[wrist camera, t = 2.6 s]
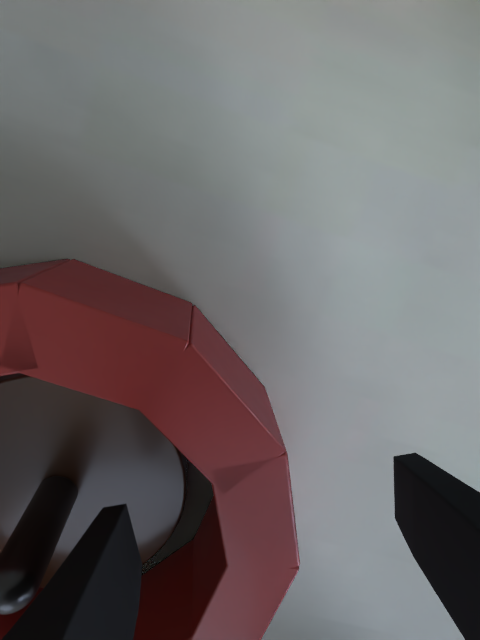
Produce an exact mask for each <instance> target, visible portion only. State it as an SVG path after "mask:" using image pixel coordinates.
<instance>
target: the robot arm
mask: <svg viewBox="0 0 480 640" xmlns="http://www.w3.org/2000/svg"><path fill="white" fill-rule="evenodd" d="M394 495H395V519H396V521H397V523H398V525H399V527H400V530H401V532H402V534H403V536H404V538H405V540H406V542H407V544H408V546H409V548H410V550H411V552H412V554H413V556H414V558H415V560H416V561H417V563H418V565H419V566H420V568H421V570H422V571H423V573H424V574H425V576H426V578H427V579H428V581H429V582H430V584H431V586H432V587H433V589H434V590H435V592H436V594H437V595H438V597H439V598H440V600H441V602H442V603H443V605H444V606H445V608H446V610H447V611H448V613H449V614H450V616H451V618H452V619H453V621H454V622H455V624H456V626H457V627H458V629H459V630H460V632H461V634H462V635H463V637H464V638H465V640H480V493H479V492H478V491H476V490H475V489H473V488H471V487H470V486H468V485H466V484H465V483H463V482H462V481H460V480H458V479H457V478H455V477H454V476H452V475H450V474H449V473H447V472H446V471H444V470H443V469H441V468H439V467H438V466H436V465H435V464H433V463H431V462H430V461H428V460H427V459H425V458H423V457H422V456H420V455H418V454H417V453H412V454H406V455H400V456H394ZM141 576H142V561H141V557H140V553H139V550H138V546H137V542H136V538H135V535H134V531H133V527H132V523H131V519H130V516H129V512H128V508H127V504H121V505H115V506H109V507H103V508H102V510H101V511H100V512H99V513H98V515H97V516H96V518H95V519H94V520H93V522H92V523H91V524H90V526H89V527H88V529H87V530H86V531H85V533H84V534H83V536H82V537H81V539H80V540H79V541H78V543H77V544H76V545H75V547H74V548H73V550H72V551H71V552H70V554H69V555H68V557H67V558H66V559H65V561H64V562H63V563H62V565H61V566H60V567H59V569H58V570H57V571H56V573H55V574H54V575H53V577H52V578H51V579H50V581H49V582H48V583H47V585H46V586H45V587H44V588H43V590H42V591H41V592H40V593H39V595H38V596H37V597H36V598H35V600H34V601H33V602H32V603H31V605H30V606H29V607H28V608H27V610H26V611H25V612H24V613H23V614H22V616H21V617H20V618H19V619H18V621H17V622H16V623H15V624H14V625H13V627H12V628H11V629H10V630H9V631H8V632H7V634H6V635H5V636H4V637H3V638H2V639H1V640H133V637H134V632H135V627H136V621H137V616H138V610H139V601H140V590H141Z"/></svg>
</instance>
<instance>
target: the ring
mask: <svg viewBox="0 0 480 640" xmlns="http://www.w3.org/2000/svg"><path fill="white" fill-rule="evenodd" d="M17 373H21V374H24V375H27V376H30V377H34V378H37V379H40V380H43V381H47V382H50V383H53V384H56V385H60V386H63V387H66V388H69V389H72V390H76V391H79V392H82V393H85V394H89V395H92V396H95V397H98V398H102V399H105V400H108V401H111V402H114V403H118V404H121V405H124V406H127V407H131V408H134V409H137V410H139V411H140V412H141V413H142V414H143V415H144V416H145V417H146V418H147V419H148V420H149V421H150V422H151V423H152V424H153V425H154V426H155V427H156V428H157V429H158V430H159V431H160V432H161V433H162V434H163V435H164V436H165V437H166V438H167V439H168V440H169V441H170V442H171V443H172V444H173V445H174V446H175V447H176V448H177V449H178V450H179V451H180V452H181V453H182V454H183V455H184V456H185V457H186V458H187V459H188V460H189V461H190V462H191V463H192V464H193V465H194V466H195V467H196V468H197V469H198V470H199V471H200V472H201V473H202V474H203V475H204V476H205V477H206V478H207V479H208V480H209V481H210V482H211V484H212V490H213V495H214V496H213V498H212V500H211V502H210V504H209V506H208V509H207V511H206V513H205V515H204V517H203V520H202V522H201V524H200V526H199V528H198V531H197V533H196V535H195V537H194V539H193V540H191V541H190V542H188V543H187V544H186V545H184V546H183V547H181V548H180V549H179V550H177V551H176V552H174V553H173V554H171V555H170V556H169V557H167V558H166V559H164V560H163V561H162V562H160V563H159V564H157V565H156V566H155V567H153V568H152V569H150V570H149V571H147V572H146V573H145V574H143V575H142V576H141V590H140V601H139V610H138V616H137V621H136V627H135V632H134V637H133V640H261V639H262V637H263V635H264V633H265V631H266V629H267V628H268V626H269V624H270V622H271V620H272V618H273V617H274V615H275V613H276V611H277V609H278V607H279V606H280V604H281V602H282V600H283V598H284V596H285V595H286V593H287V591H288V589H289V587H290V585H291V584H292V582H293V580H294V578H295V576H296V574H297V573H298V571H299V565H300V559H299V551H298V542H297V533H296V525H295V516H294V507H293V498H292V490H291V481H290V472H289V464H288V455H287V452H286V449H285V446H284V443H283V440H282V437H281V434H280V431H279V428H278V425H277V422H276V419H275V416H274V413H273V410H272V407H271V404H270V401H269V398H268V395H267V393H266V390H265V387H264V386H263V385H262V384H261V383H260V381H259V380H258V379H257V378H256V377H255V375H254V374H253V373H252V372H251V371H250V370H249V368H248V367H247V366H246V365H245V364H244V362H243V361H242V360H241V359H240V358H239V357H238V355H237V354H236V353H235V352H234V351H233V349H232V348H231V347H230V346H229V345H228V344H227V342H226V341H225V340H224V339H223V338H222V337H221V335H220V334H219V333H218V332H217V331H216V329H215V328H214V327H213V326H212V325H211V324H210V322H209V321H208V320H207V319H206V318H205V316H204V315H203V314H202V313H201V312H200V311H199V309H198V308H197V307H196V306H195V305H193V306H192V303H191V302H188V301H185V300H183V299H180V298H177V297H175V296H172V295H169V294H166V293H164V292H161V291H158V290H156V289H153V288H150V287H148V286H145V285H142V284H139V283H137V282H134V281H131V280H129V279H126V278H123V277H121V276H118V275H115V274H112V273H110V272H107V271H104V270H102V269H99V268H96V267H94V266H91V265H88V264H85V263H83V262H80V261H77V260H75V259H72V260H70V259H62V260H55V261H49V262H42V263H35V264H28V265H21V266H14V267H7V268H0V376H4V375H11V374H17ZM42 590H43V588H41V587H39V589H38V591H37V593H36V595H35V596H34V598H33V599H32V601H31V602H30V603H29V604H28V605H27V606H25V607H24V608H23V609H21V610H20V611H18V612H15V613H13V614H7V615H1V614H0V640H1V639H2V638H3V637H4V636H5V635H6V634H7V632H8V631H9V630H10V629H11V628H12V627H13V625H14V624H15V623H16V622H17V621H18V619H19V618H20V617H21V616H22V614H23V613H24V612H25V611H26V610H27V608H28V607H29V606H30V605H31V603H32V602H33V601H34V600H35V598H36V597H37V596H38V595H39V593H40V592H41V591H42Z"/></svg>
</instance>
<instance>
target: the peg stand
mask: <svg viewBox="0 0 480 640" xmlns="http://www.w3.org/2000/svg"><path fill="white" fill-rule="evenodd" d="M186 488H187V459H186V457H185V456H184V455H183V454H182V453H181V452H180V451H179V450H178V449H177V448H176V447H175V446H174V445H173V444H172V443H171V442H170V441H169V440H168V439H167V438H166V437H165V436H164V435H163V434H162V433H161V432H160V431H159V430H158V429H157V428H156V427H155V426H154V425H153V424H152V423H151V422H150V421H149V420H148V419H147V418H146V417H145V416H144V415H143V414H142V413H141V412H140V411H139V410H137V409H134V408H131V407H127V406H124V405H121V404H118V403H114V402H111V401H108V400H105V399H102V398H98V397H95V396H92V395H89V394H85V393H82V392H79V391H76V390H72V389H69V388H66V387H63V386H60V385H56V384H53V383H50V382H47V381H43V380H40V379H37V378H34V377H30V376H27V375H24V374H21V373H17V374H11V375H4V376H0V614H1V615H7V614H13V613H15V612H18V611H20V610H21V609H23V608H24V607H25V606H27V605H28V604H29V603H30V602H31V601H32V599H33V598H34V596H35V595H36V593H37V591H38V589H39V587H41V588H44V587H45V586H46V585H47V583H48V582H49V581H50V579H51V578H52V577H53V575H54V574H55V573H56V571H57V570H58V569H59V567H60V566H61V565H62V563H63V562H64V561H65V559H66V558H67V557H68V555H69V554H70V552H71V551H72V550H73V548H74V547H75V545H76V544H77V543H78V541H79V540H80V539H81V537H82V536H83V534H84V533H85V531H86V530H87V529H88V527H89V526H90V524H91V523H92V522H93V520H94V519H95V518H96V516H97V515H98V513H99V512H100V511H101V510H102V508H103V507H109V506H115V505H121V504H127V508H128V512H129V516H130V519H131V523H132V527H133V531H134V535H135V538H136V542H137V546H138V550H139V553H140V557H141V561H142V564H144V563H145V562H146V561H148V560H149V559H150V558H151V557H152V556H154V555H155V554H156V553H157V552H158V551H159V550H160V549H161V548H162V547H163V545H164V544H165V543H166V542H167V540H168V539H169V537H170V536H171V535H172V533H173V532H174V530H175V528H176V526H177V524H178V522H179V520H180V517H181V514H182V511H183V509H184V504H185V498H186Z"/></svg>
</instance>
